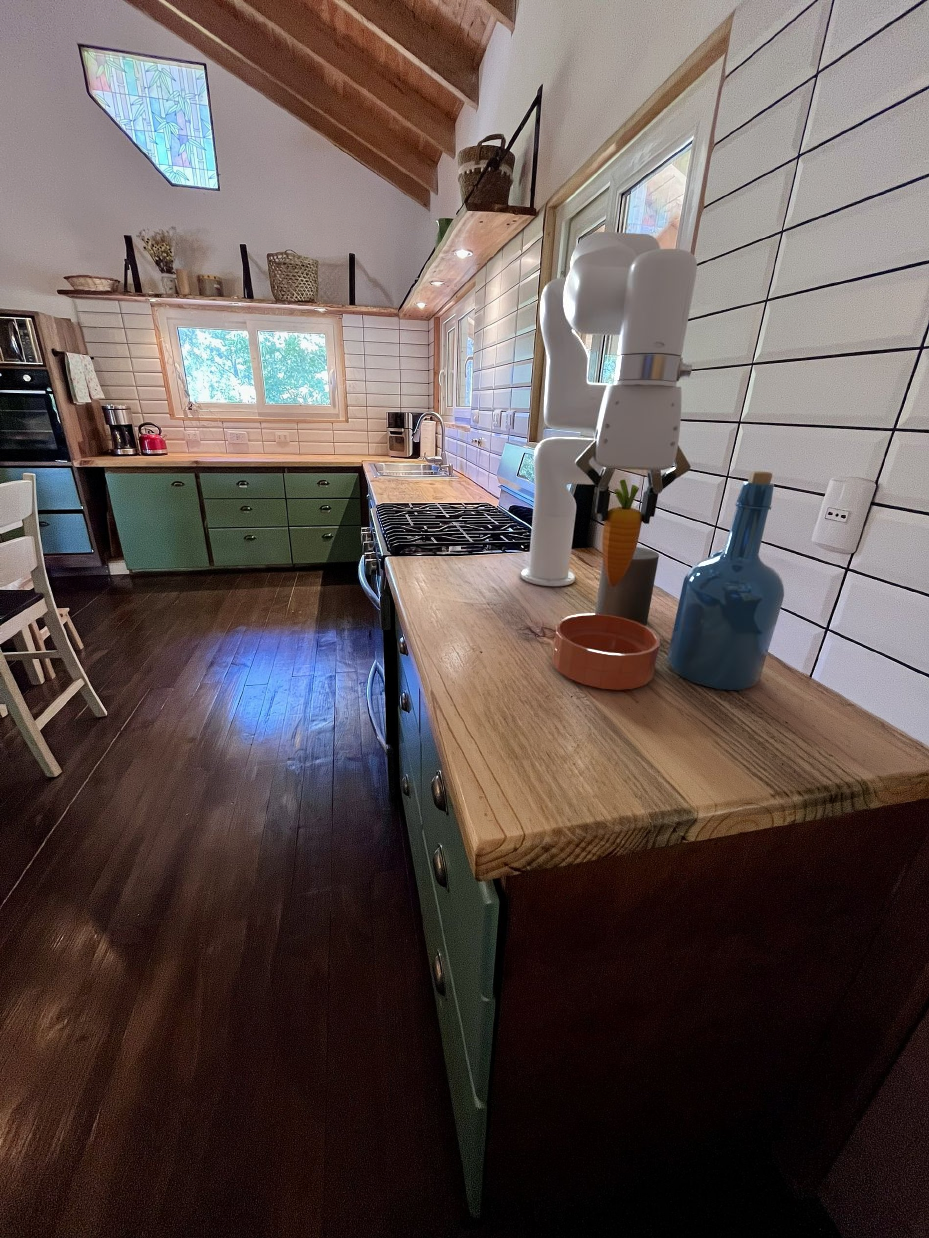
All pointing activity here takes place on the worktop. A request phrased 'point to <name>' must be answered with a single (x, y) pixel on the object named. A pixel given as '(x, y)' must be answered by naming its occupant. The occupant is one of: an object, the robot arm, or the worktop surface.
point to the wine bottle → (730, 602)
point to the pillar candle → (630, 589)
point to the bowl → (605, 651)
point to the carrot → (620, 535)
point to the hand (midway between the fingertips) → (623, 519)
